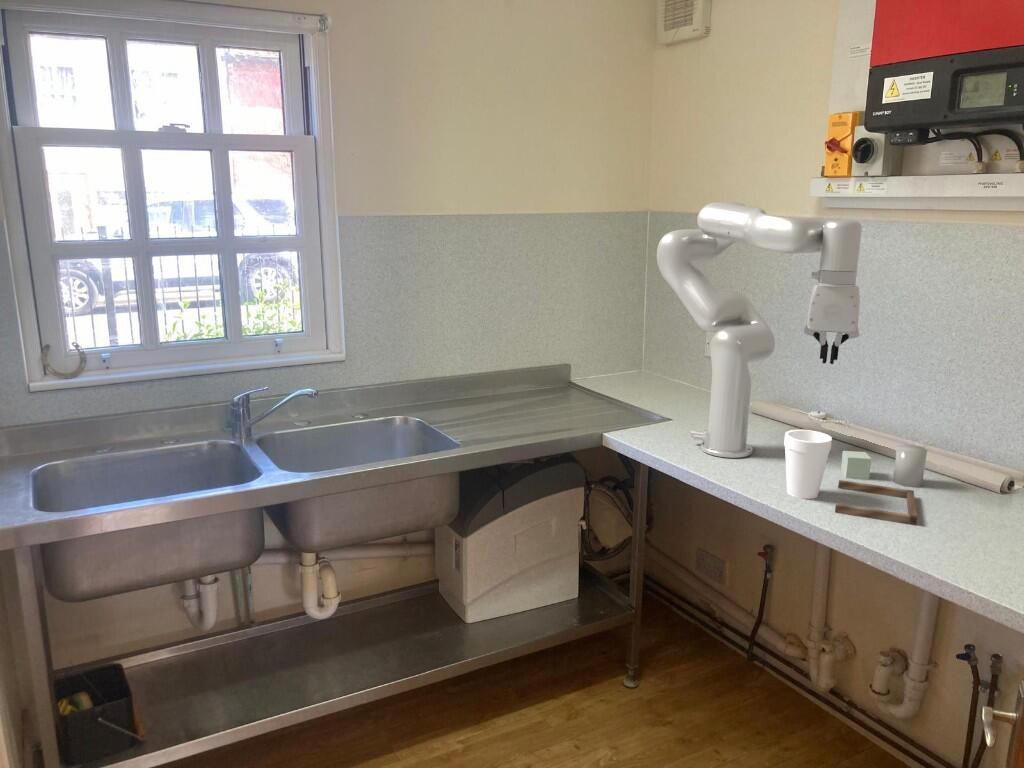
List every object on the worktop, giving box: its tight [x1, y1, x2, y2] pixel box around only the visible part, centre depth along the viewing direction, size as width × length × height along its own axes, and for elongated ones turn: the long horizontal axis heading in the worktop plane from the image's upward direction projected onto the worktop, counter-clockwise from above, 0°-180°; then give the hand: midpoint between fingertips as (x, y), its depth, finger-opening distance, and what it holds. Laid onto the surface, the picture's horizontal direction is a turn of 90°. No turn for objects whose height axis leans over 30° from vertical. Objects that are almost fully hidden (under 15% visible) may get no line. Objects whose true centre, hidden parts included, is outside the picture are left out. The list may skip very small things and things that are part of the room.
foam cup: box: [783, 429, 833, 500], centre depth 167 cm, size 10×9×13 cm
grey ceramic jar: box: [892, 444, 928, 488], centre depth 175 cm, size 6×6×8 cm
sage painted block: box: [840, 450, 872, 480], centre depth 180 cm, size 5×5×5 cm
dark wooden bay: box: [834, 479, 918, 526], centre depth 163 cm, size 15×16×2 cm
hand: (828, 362), depth 171 cm, fingers closed
